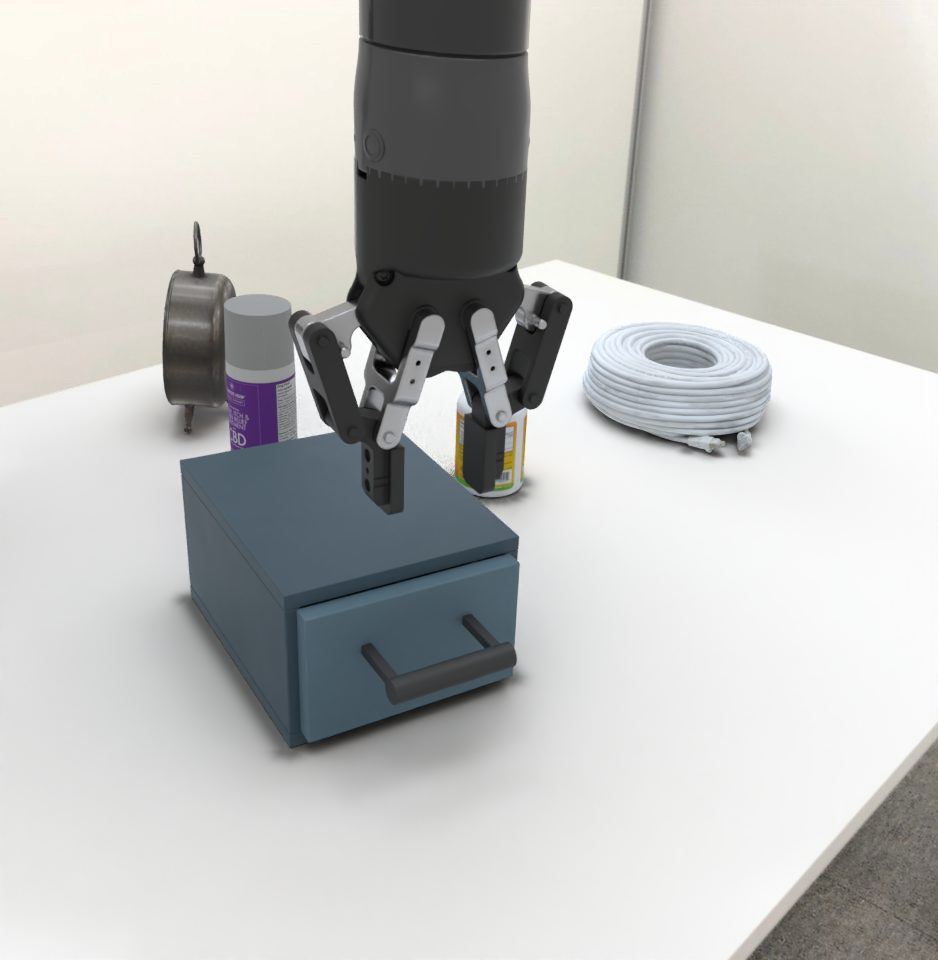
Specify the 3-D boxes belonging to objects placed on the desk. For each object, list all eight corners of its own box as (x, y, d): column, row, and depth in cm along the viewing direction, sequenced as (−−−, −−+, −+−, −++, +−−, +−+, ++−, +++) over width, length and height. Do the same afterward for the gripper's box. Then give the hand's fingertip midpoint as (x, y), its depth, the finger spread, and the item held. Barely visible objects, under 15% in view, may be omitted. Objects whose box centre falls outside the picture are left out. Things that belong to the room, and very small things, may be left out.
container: (221, 504, 87) (207, 308, 80) (254, 477, 91) (244, 289, 84) (279, 517, 86) (271, 320, 79) (310, 489, 90) (305, 300, 83)
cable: (748, 464, 102) (758, 399, 99) (554, 424, 105) (559, 360, 102) (780, 392, 117) (789, 334, 114) (610, 359, 120) (615, 301, 118)
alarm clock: (185, 385, 104) (170, 202, 97) (249, 386, 106) (240, 205, 98) (164, 439, 95) (146, 241, 88) (235, 440, 96) (223, 244, 89)
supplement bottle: (482, 461, 97) (487, 349, 93) (536, 481, 95) (544, 368, 91) (440, 484, 93) (443, 368, 89) (495, 506, 91) (501, 389, 86)
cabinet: (510, 675, 72) (519, 536, 68) (290, 748, 65) (283, 596, 60) (389, 547, 84) (390, 421, 80) (190, 596, 76) (179, 459, 72)
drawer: (555, 720, 67) (565, 604, 64) (345, 797, 60) (343, 670, 57) (397, 553, 82) (398, 450, 78) (211, 600, 75) (203, 488, 71)
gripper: (537, 128, 59) (518, 441, 66) (249, 139, 51) (266, 493, 58) (624, 165, 53) (593, 500, 61) (319, 183, 45) (327, 565, 53)
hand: (433, 495), depth 60 cm, fingers open, 4 cm apart
